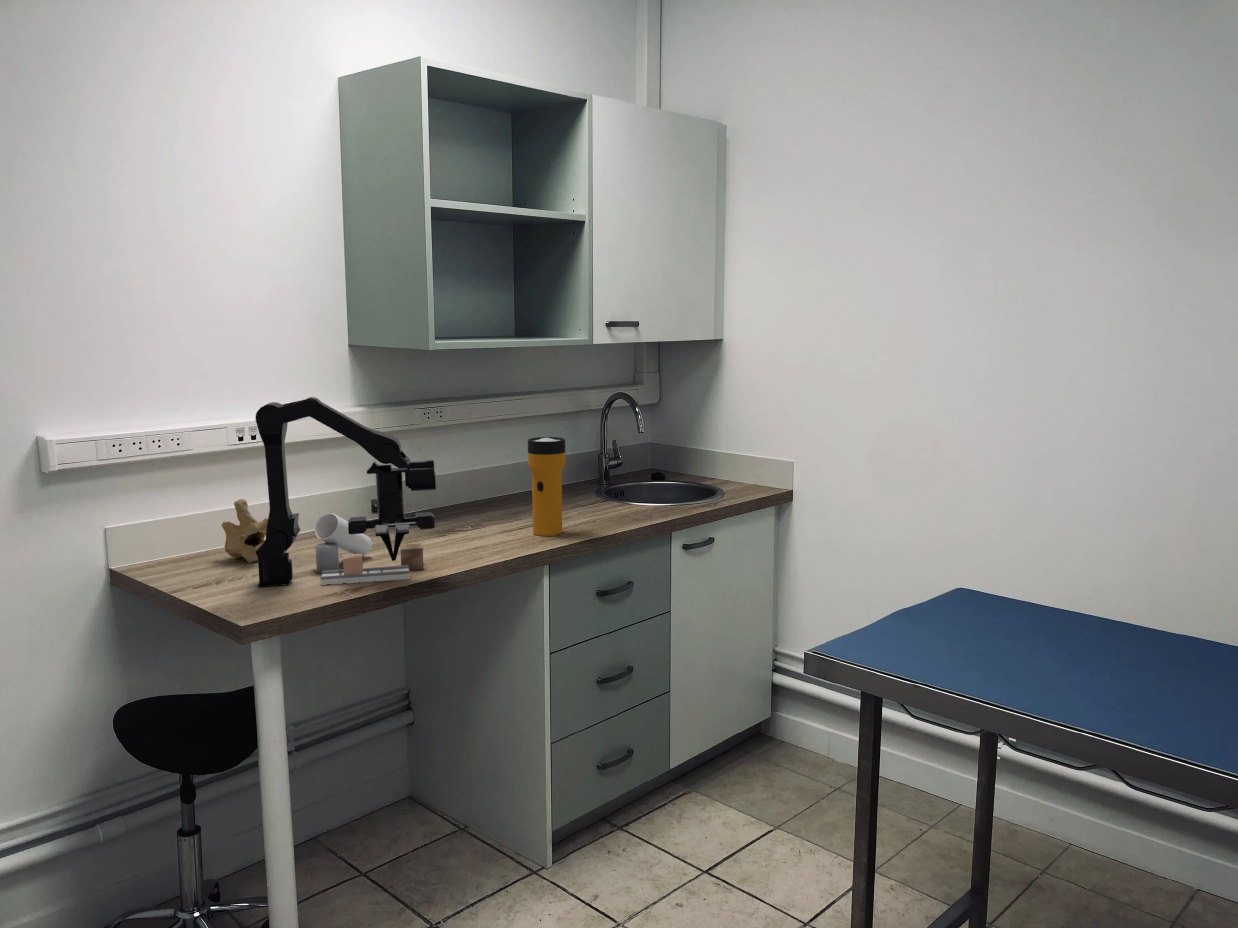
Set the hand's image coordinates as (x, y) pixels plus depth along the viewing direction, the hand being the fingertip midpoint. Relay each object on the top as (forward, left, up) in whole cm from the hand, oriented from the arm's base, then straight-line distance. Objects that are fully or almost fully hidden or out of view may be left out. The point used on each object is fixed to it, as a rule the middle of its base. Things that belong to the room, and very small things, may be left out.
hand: (393, 560), depth 219 cm
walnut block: (+4, +8, -4) cm, 10 cm away
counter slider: (-9, 0, -2) cm, 9 cm away
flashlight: (+41, +34, -4) cm, 54 cm away
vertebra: (-34, +25, -4) cm, 42 cm away
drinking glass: (-7, +22, -2) cm, 23 cm away
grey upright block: (-15, +10, -4) cm, 18 cm away
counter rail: (-7, 0, -4) cm, 8 cm away
